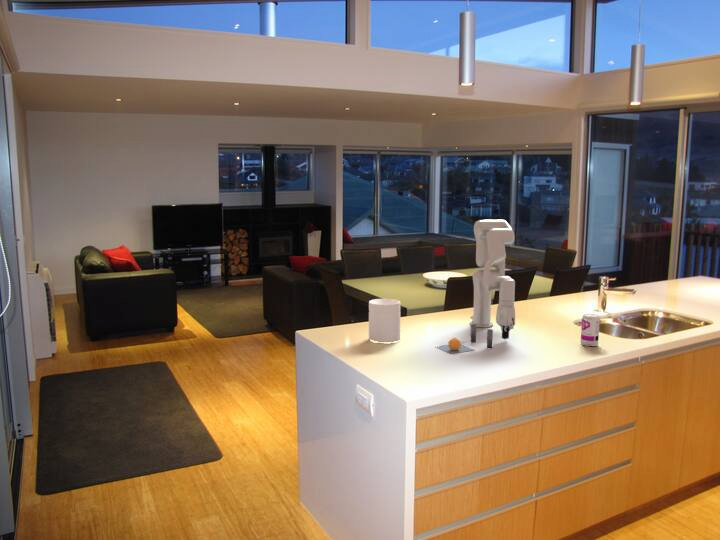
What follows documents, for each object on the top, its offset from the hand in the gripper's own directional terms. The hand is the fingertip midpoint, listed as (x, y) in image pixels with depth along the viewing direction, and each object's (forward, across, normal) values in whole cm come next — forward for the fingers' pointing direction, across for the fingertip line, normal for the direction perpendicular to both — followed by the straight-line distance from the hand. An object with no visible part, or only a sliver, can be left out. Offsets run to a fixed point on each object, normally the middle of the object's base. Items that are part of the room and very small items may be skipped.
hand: (505, 338), depth 319 cm
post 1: (+2, -6, -15) cm, 16 cm away
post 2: (+2, +7, -15) cm, 16 cm away
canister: (+2, -29, -54) cm, 61 cm away
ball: (-2, +3, -33) cm, 33 cm away
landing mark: (+2, 0, -31) cm, 31 cm away
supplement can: (+2, +24, +33) cm, 41 cm away
